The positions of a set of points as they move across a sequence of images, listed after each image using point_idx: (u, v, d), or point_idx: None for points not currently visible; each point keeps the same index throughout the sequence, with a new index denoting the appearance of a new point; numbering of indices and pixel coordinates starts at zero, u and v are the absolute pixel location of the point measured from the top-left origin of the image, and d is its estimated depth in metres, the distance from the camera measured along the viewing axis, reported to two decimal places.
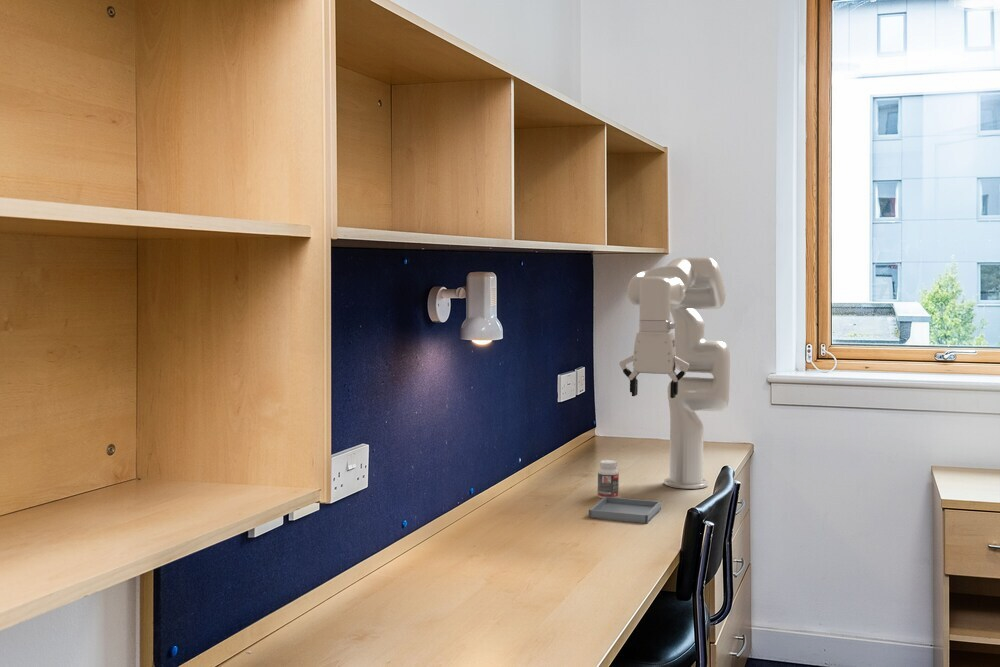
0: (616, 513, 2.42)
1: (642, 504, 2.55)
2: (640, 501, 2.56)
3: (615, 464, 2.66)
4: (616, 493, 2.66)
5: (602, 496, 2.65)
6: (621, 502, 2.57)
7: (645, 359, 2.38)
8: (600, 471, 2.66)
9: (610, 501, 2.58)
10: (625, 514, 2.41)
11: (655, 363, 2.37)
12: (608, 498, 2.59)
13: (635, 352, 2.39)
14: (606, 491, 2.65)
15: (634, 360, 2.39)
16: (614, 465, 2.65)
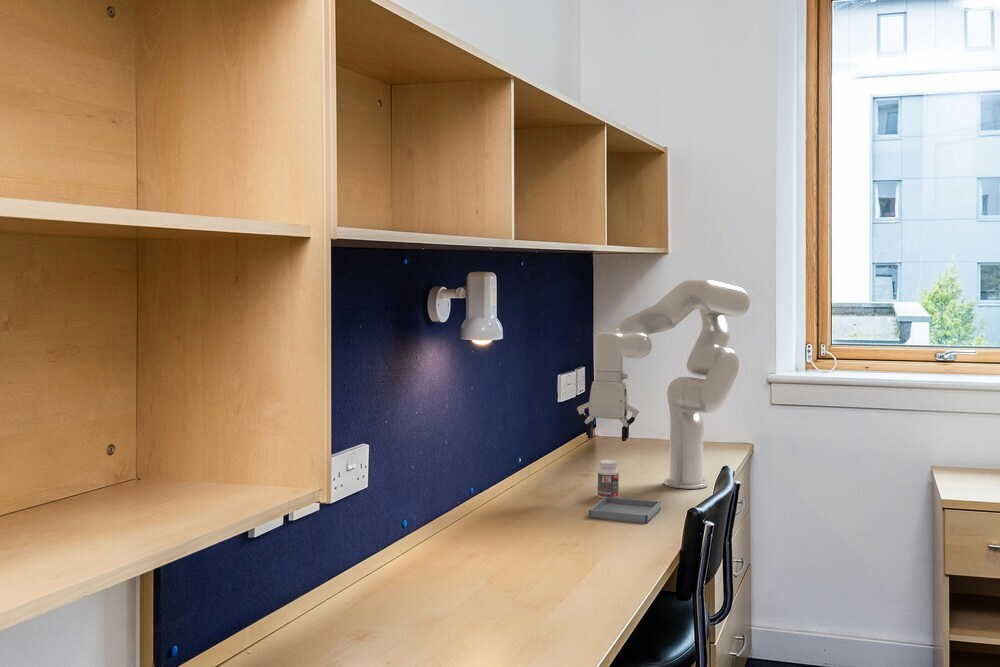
0: (616, 513, 2.42)
1: (642, 504, 2.55)
2: (640, 501, 2.56)
3: (615, 464, 2.66)
4: (616, 493, 2.66)
5: (602, 496, 2.65)
6: (621, 502, 2.57)
7: (600, 405, 2.64)
8: (600, 471, 2.66)
9: (610, 501, 2.58)
10: (625, 514, 2.41)
11: (608, 409, 2.63)
12: (608, 498, 2.59)
13: (591, 399, 2.65)
14: (606, 491, 2.65)
15: (590, 406, 2.66)
16: (614, 465, 2.65)
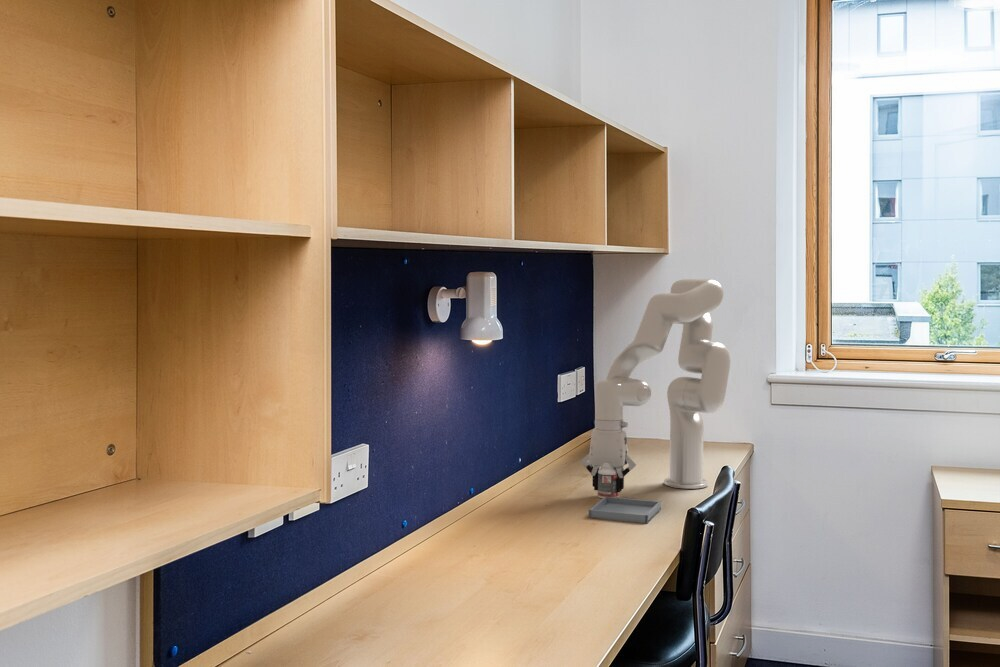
0: (616, 513, 2.42)
1: (642, 504, 2.55)
2: (640, 501, 2.56)
3: None
4: (616, 493, 2.66)
5: (602, 496, 2.65)
6: (621, 502, 2.57)
7: (600, 454, 2.65)
8: (600, 471, 2.66)
9: (610, 501, 2.58)
10: (625, 514, 2.41)
11: (609, 458, 2.64)
12: (608, 498, 2.59)
13: (591, 447, 2.66)
14: (606, 491, 2.65)
15: (590, 454, 2.67)
16: None
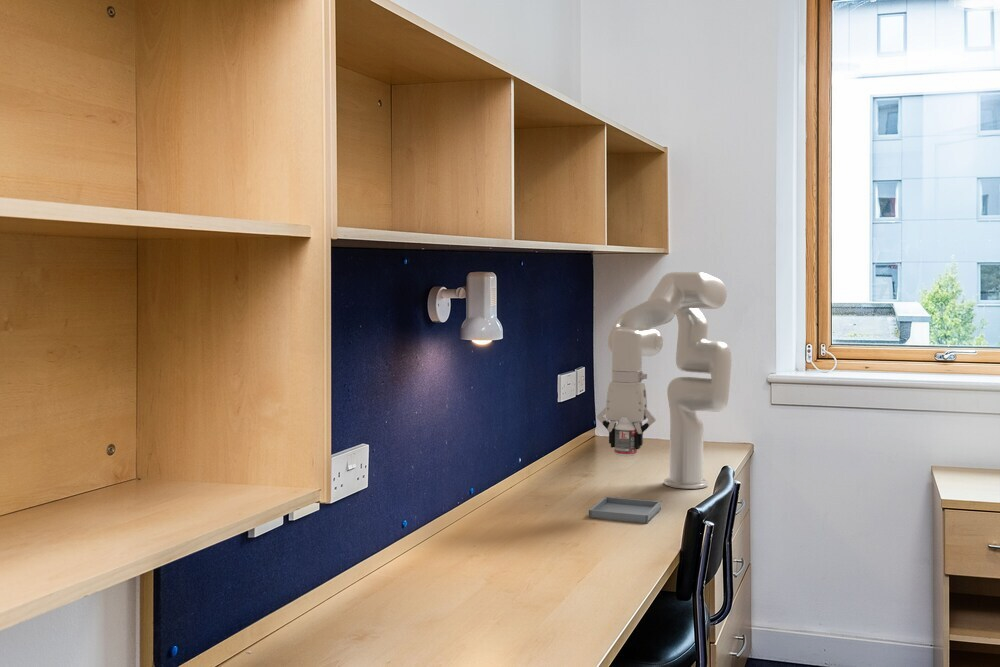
0: (616, 513, 2.42)
1: (642, 504, 2.55)
2: (640, 501, 2.56)
3: None
4: (634, 450, 2.47)
5: (619, 453, 2.47)
6: (621, 502, 2.57)
7: (617, 408, 2.47)
8: (617, 426, 2.47)
9: (610, 501, 2.58)
10: (625, 514, 2.41)
11: (627, 412, 2.46)
12: (608, 498, 2.59)
13: (608, 401, 2.48)
14: (623, 447, 2.46)
15: (607, 409, 2.48)
16: None
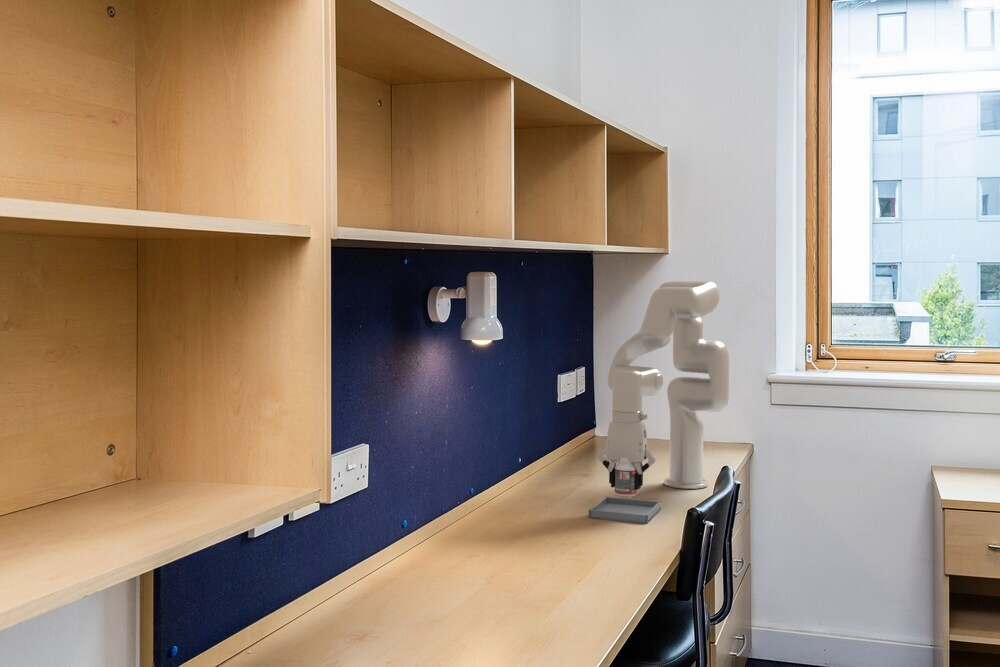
0: (616, 513, 2.42)
1: (642, 504, 2.55)
2: (640, 501, 2.56)
3: None
4: (634, 490, 2.47)
5: (619, 493, 2.47)
6: (621, 502, 2.57)
7: (618, 448, 2.47)
8: (617, 466, 2.47)
9: (610, 501, 2.58)
10: (625, 514, 2.41)
11: (627, 452, 2.46)
12: (608, 498, 2.59)
13: (608, 441, 2.48)
14: (624, 488, 2.46)
15: (607, 449, 2.48)
16: None
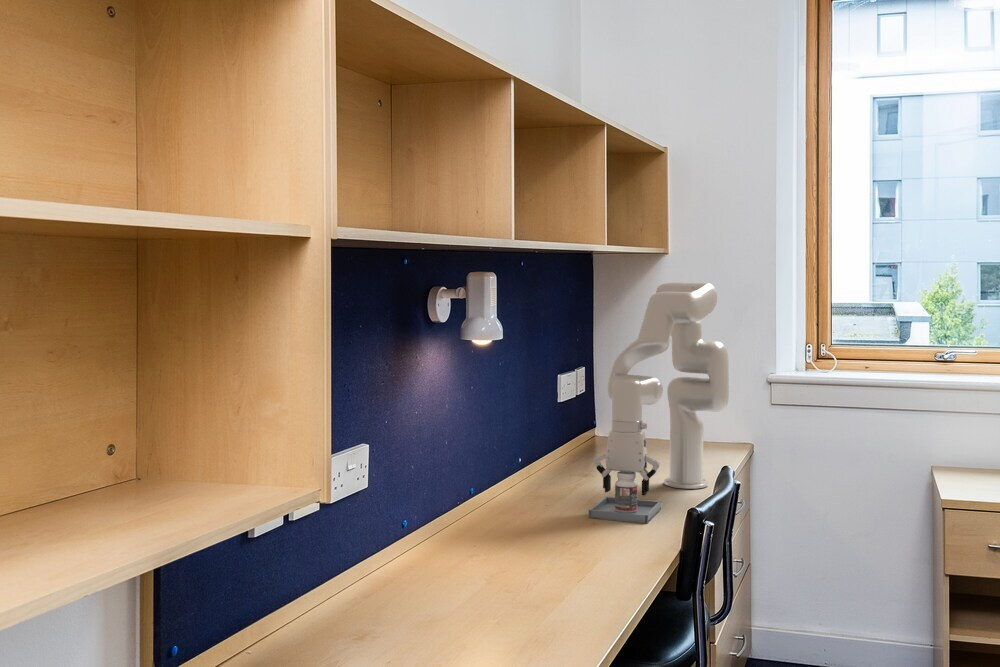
0: (616, 513, 2.42)
1: (642, 504, 2.55)
2: (640, 501, 2.56)
3: (634, 475, 2.48)
4: (635, 506, 2.48)
5: (620, 509, 2.47)
6: None
7: (618, 457, 2.47)
8: (618, 483, 2.48)
9: (610, 501, 2.58)
10: (625, 514, 2.41)
11: (627, 462, 2.46)
12: (608, 498, 2.59)
13: (608, 450, 2.48)
14: (624, 504, 2.47)
15: (607, 458, 2.48)
16: (633, 476, 2.47)
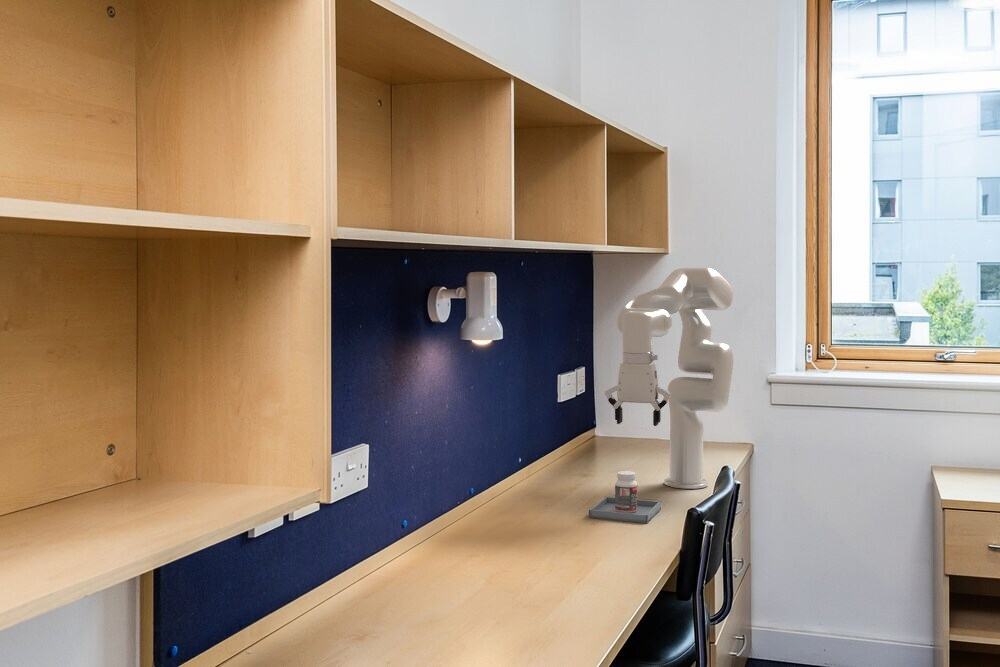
0: (616, 513, 2.42)
1: (642, 504, 2.55)
2: (640, 501, 2.56)
3: (634, 475, 2.48)
4: (635, 506, 2.48)
5: (620, 509, 2.47)
6: None
7: (629, 389, 2.50)
8: (618, 483, 2.48)
9: (610, 501, 2.58)
10: (625, 514, 2.41)
11: (638, 393, 2.49)
12: (608, 498, 2.59)
13: (619, 382, 2.51)
14: (624, 504, 2.47)
15: (618, 390, 2.51)
16: (633, 476, 2.47)
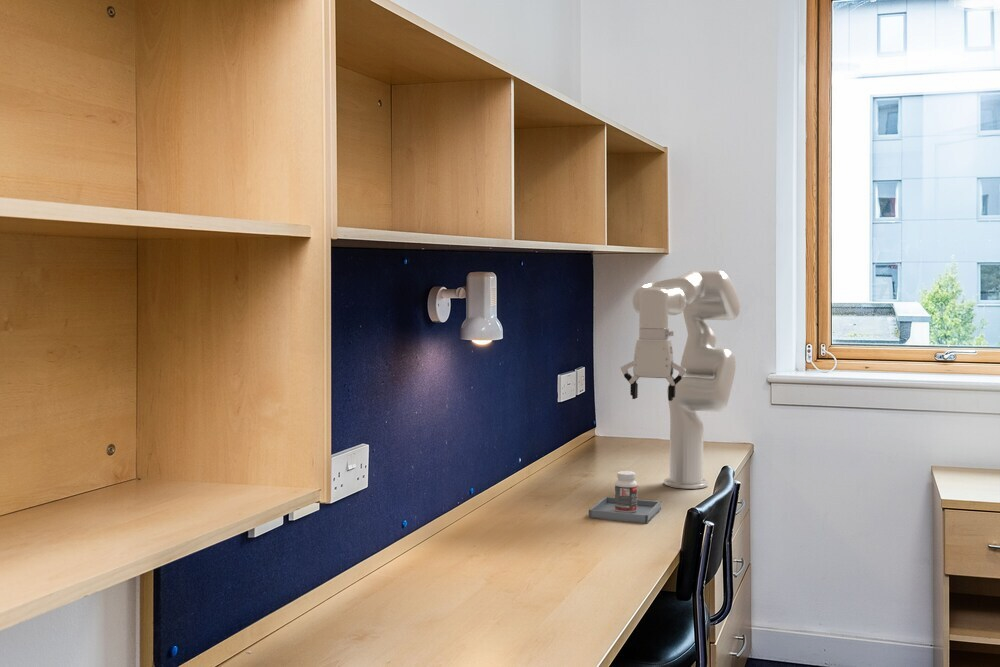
0: (616, 513, 2.42)
1: (642, 504, 2.55)
2: (640, 501, 2.56)
3: (634, 475, 2.48)
4: (635, 506, 2.48)
5: (620, 509, 2.47)
6: None
7: (645, 364, 2.55)
8: (618, 483, 2.48)
9: (610, 501, 2.58)
10: (625, 514, 2.41)
11: (654, 368, 2.54)
12: (608, 498, 2.59)
13: (635, 358, 2.56)
14: (624, 504, 2.47)
15: (634, 365, 2.57)
16: (633, 476, 2.47)
